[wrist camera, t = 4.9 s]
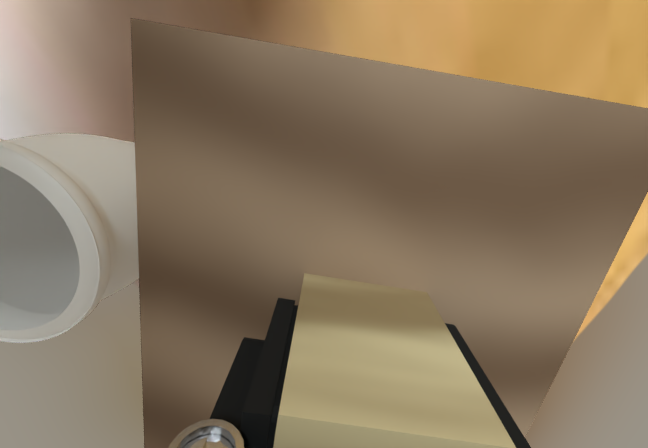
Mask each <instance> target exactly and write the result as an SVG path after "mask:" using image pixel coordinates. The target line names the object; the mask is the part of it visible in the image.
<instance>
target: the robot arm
mask: <svg viewBox="0 0 648 448" xmlns="http://www.w3.org/2000/svg"><path fill="white" fill-rule="evenodd" d="M297 311H298V305H295V300H290V299H284V298H278V300H277V303H276V306H275V309H274V312H273V315H272V319H271V322H270V325H269V328H268V331H267V335H266V338H265V340H260V339H253V338H246V337H244V338H243V340H242V342H241V344H240V347H239V349H238V352H237V354H236V356H235V359H234V361H233V364H232V366H231V368H230V371H229V373H228V376H227V378H226V380H225V383H224V385H223V387H222V390H221V392H220V395H219V397H218V399H217V402H216V404H215V407H214V409H213V411H212V414H211V416H210V419H208V420H202V421H199V422H197V423H194V424H192V425H190V426H188V427H187V428H186V429H184V430H183V431H182V432H180V433H179V434H178V435H177V436H176V438H175V439H174V440H173V441H172V442H171V444H170V445H169V448H273V446H274V439H275V433H276V426H277V419H278V413H279V408H280V402H281V397H282V391H283V386H284V381H285V375H286V370H287V364H288V359H289V354H290V348H291V343H292V338H293V332H294V327H295V321H296V316H297ZM445 325H446V326H447V328H448V330H449V332H450V333H451V335H452V337H453V339H454V340H455V342H456V344H457V346H458V347H459V349H460V351H461V353H462V354H463V356H464V358H465V359H466V361H467V363H468V365H469V366H470V368H471V370H472V372H473V373H474V375H475V377H476V379H477V380H478V382H479V384H480V386H481V387H482V389H483V391H484V393H485V394H486V396H487V398H488V400H489V401H490V403H491V405H492V407H493V408H494V410H495V412H496V413H497V415H498V417H499V419H500V420H501V422H502V424H503V426H504V427H505V429H506V431H507V433H508V434H509V436H510V438H511V440H512V441H513V443H514V445H515V447H516V448H531V447H530V445H529V444H528V442H527V441H526V439H525V437H524V436H523V434H522V432H521V431H520V429H519V428H518V426H517V424H516V423H515V421H514V420H513V418H512V416H511V415H510V413H509V411H508V410H507V408H506V407H505V405H504V403H503V402H502V400H501V399H500V397H499V395H498V394H497V392H496V390H495V389H494V387H493V386H492V384H491V382H490V381H489V379H488V378H487V376H486V374H485V373H484V371H483V369H482V368H481V366H480V365H479V363H478V361H477V360H476V358H475V357H474V355H473V353H472V352H471V350H470V348H469V347H468V345H467V344H466V342H465V340H464V339H463V337H462V336H461V334H460V332H459V331H458V329H457V328H456V326H455V325H453V324H447V323H445Z"/></svg>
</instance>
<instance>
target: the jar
mask: <svg viewBox="0 0 648 448" xmlns="http://www.w3.org/2000/svg"><path fill="white" fill-rule="evenodd" d="M138 279H139V260H138V229H137V198H136V166H135V142H130V141H124V140H118V139H114V138H110V137H105V136H98V135H90V134H76V133H60V134H45V135H35V136H28V137H22V138H16V139H11V140H7V141H6V140H2V139H0V341H3V342H12V343H30V342H38V341H43V340H47V339H50V338H53V337H56V336H58V335H60V334H63V333H64V332H66V331H68V330H69V329H71V328H72V327H74V326H75V325H77V324H78V323H80V322H81V321H82V320H83V319H85V318H86V317H87V316H88V315H89V314H90V313H91V312H92V311H93V310H94V309H95V308H96V306H97V305H98V304H99V302H100V301H101V300H103V299H105V298H107V297H109V296H111V295H113V294H115V293H117V292H118V291H120V290H122V289H124V288H125V287H127V286H129V285H130V284H132V283H133V282H135V281H136V280H138Z"/></svg>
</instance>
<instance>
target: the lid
mask: <svg viewBox="0 0 648 448" xmlns="http://www.w3.org/2000/svg"><path fill="white" fill-rule="evenodd" d="M131 41H132V72H133V103H134V135H135V166H136V198H137V229H138V260H139V292H140V321H141V353H142V381H143V382H142V383H143V384H142V385H143V416H144V448H169V445H170V444H171V442H172V441H173V440H174V439H175V438H176V436H177V435H178V434H179V433H180V432H182V431H183V430H184V429H186V428H187V427H188V426H190V425H192V424H194V423H197V422H199V421H202V420H208V419H210V416H211V414H212V411H213V409H214V407H215V404H216V402H217V399H218V397H219V395H220V392H221V390H222V387H223V385H224V383H225V380H226V378H227V376H228V373H229V371H230V368H231V366H232V364H233V361H234V359H235V356H236V354H237V352H238V349H239V347H240V344H241V342H242V340H243V338H244V337H246V338H253V339H260V340H265V338H266V335H267V331H268V328H269V325H270V322H271V319H272V315H273V312H274V309H275V306H276V303H277V300H278V298H284V299H290V300H295V305H298V311H297V316H296V321H295V327H294V332H293V338H292V343H291V348H290V354H289V359H288V364H287V370H286V375H285V381H284V386H283V391H282V397H281V402H280V408H279V413H278V419H277V426H276V433H275V439H274V446H273V448H516V447H515V445H514V443H513V441H512V440H511V438H510V436H509V434H508V433H507V431H506V429H505V427H504V426H503V424H502V422H501V420H500V419H499V417H498V415H497V413H496V412H495V410H494V408H493V407H492V405H491V403H490V401H489V400H488V398H487V396H486V394H485V393H484V391H483V389H482V387H481V386H480V384H479V382H478V380H477V379H476V377H475V375H474V373H473V372H472V370H471V368H470V366H469V365H468V363H467V361H466V359H465V358H464V356H463V354H462V353H461V351H460V349H459V347H458V346H457V344H456V342H455V340H454V339H453V337H452V335H451V333H450V332H449V330H448V328H447V326H446V325H445V323H447V324H453V325H455V326H456V328H457V329H458V331H459V332H460V334H461V336H462V337H463V339H464V340H465V342H466V344H467V345H468V347H469V348H470V350H471V352H472V353H473V355H474V357H475V358H476V360H477V361H478V363H479V365H480V366H481V368H482V369H483V371H484V373H485V374H486V376H487V378H488V379H489V381H490V382H491V384H492V386H493V387H494V389H495V390H496V392H497V394H498V395H499V397H500V399H501V400H502V402H503V403H504V405H505V407H506V408H507V410H508V411H509V413H510V415H511V416H512V418H513V420H514V421H515V423H516V424H517V426H518V428H519V429H520V431H521V432H522V434H523V436H524V437H526V435H527V433H528V431H529V428H530V427H531V425H532V422H533V421H534V418H535V416H536V414H537V413H538V411H539V408H540V407H541V405H542V403H543V401H544V398H545V396H546V394H547V392H548V390H549V389H550V386H551V384H552V382H553V380H554V378H555V376H556V374H557V372H558V370H559V368H560V366H561V364H562V362H563V360H564V358H565V356H566V354H567V352H568V350H569V348H570V346H571V344H572V342H573V340H574V338H575V336H576V334H577V332H578V330H579V328H580V326H581V324H582V322H583V320H584V318H585V316H586V314H587V312H588V310H589V308H590V306H591V304H592V302H593V300H594V298H595V296H596V294H597V292H598V290H599V288H600V286H601V284H602V282H603V280H604V278H605V276H606V274H607V272H608V270H609V268H610V266H611V264H612V262H613V260H614V258H615V256H616V254H617V252H618V250H619V248H620V246H621V244H622V242H623V240H624V238H625V236H626V234H627V232H628V230H629V228H630V226H631V224H632V222H633V220H634V218H635V216H636V214H637V212H638V210H639V208H640V206H641V204H642V202H643V200H644V198H645V196H646V194H647V192H648V108H642V107H636V106H631V105H625V104H619V103H614V102H608V101H602V100H596V99H591V98H585V97H579V96H574V95H568V94H562V93H556V92H551V91H545V90H539V89H534V88H528V87H522V86H516V85H511V84H505V83H499V82H494V81H488V80H482V79H476V78H471V77H465V76H459V75H454V74H448V73H442V72H436V71H431V70H425V69H419V68H413V67H408V66H402V65H396V64H391V63H385V62H379V61H373V60H368V59H362V58H356V57H351V56H345V55H339V54H333V53H328V52H322V51H316V50H311V49H305V48H299V47H293V46H288V45H282V44H276V43H271V42H265V41H259V40H253V39H248V38H242V37H236V36H231V35H225V34H219V33H213V32H208V31H202V30H196V29H191V28H185V27H179V26H173V25H168V24H162V23H156V22H151V21H145V20H139V19H133V18H131Z"/></svg>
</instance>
